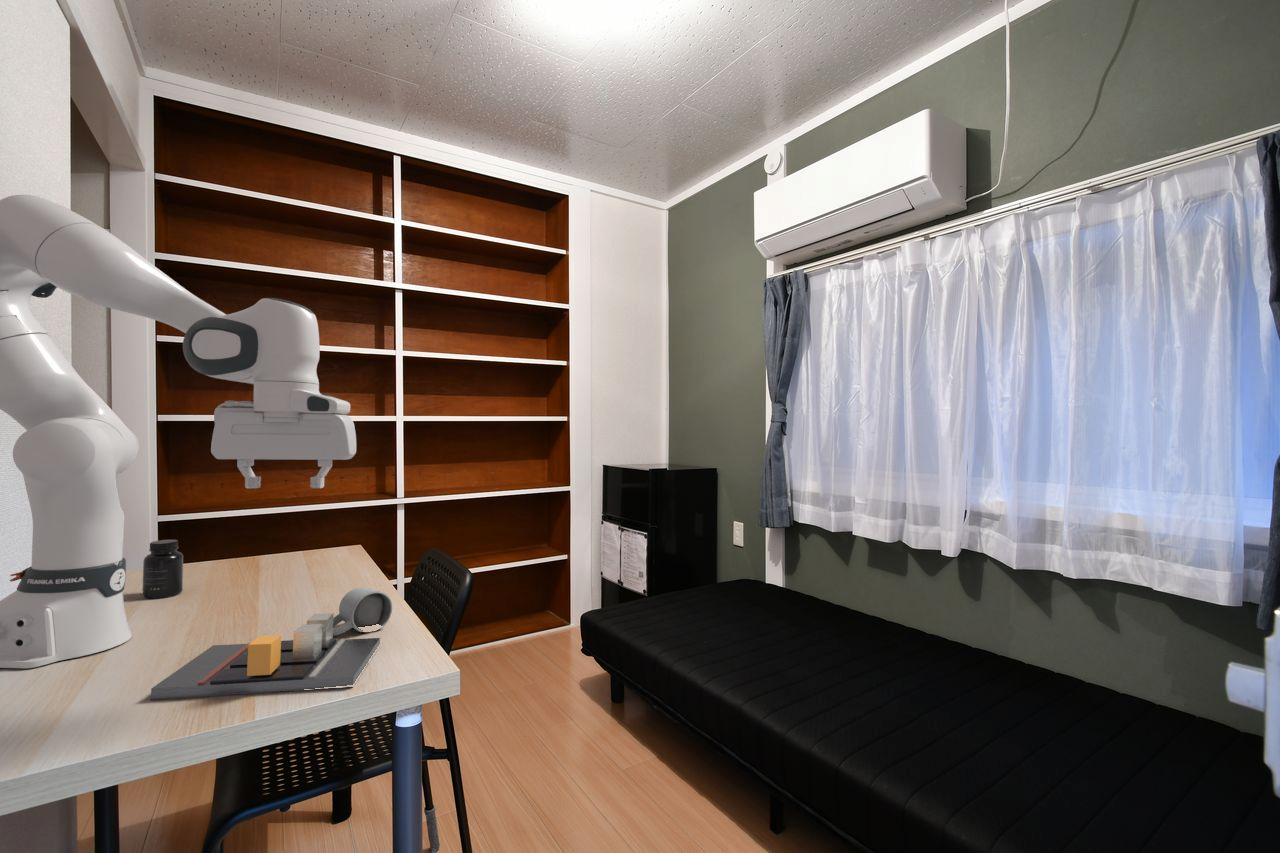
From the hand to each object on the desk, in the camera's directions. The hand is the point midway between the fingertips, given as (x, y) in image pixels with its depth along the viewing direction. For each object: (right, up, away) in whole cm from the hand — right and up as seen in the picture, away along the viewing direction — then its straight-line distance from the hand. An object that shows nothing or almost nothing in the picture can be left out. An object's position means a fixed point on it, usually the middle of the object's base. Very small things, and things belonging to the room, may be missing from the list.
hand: (285, 488), depth 89 cm
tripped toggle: (+1, -26, -6) cm, 27 cm away
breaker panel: (0, -29, -1) cm, 29 cm away
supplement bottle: (-50, -28, +35) cm, 68 cm away
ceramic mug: (+2, -29, +18) cm, 35 cm away
